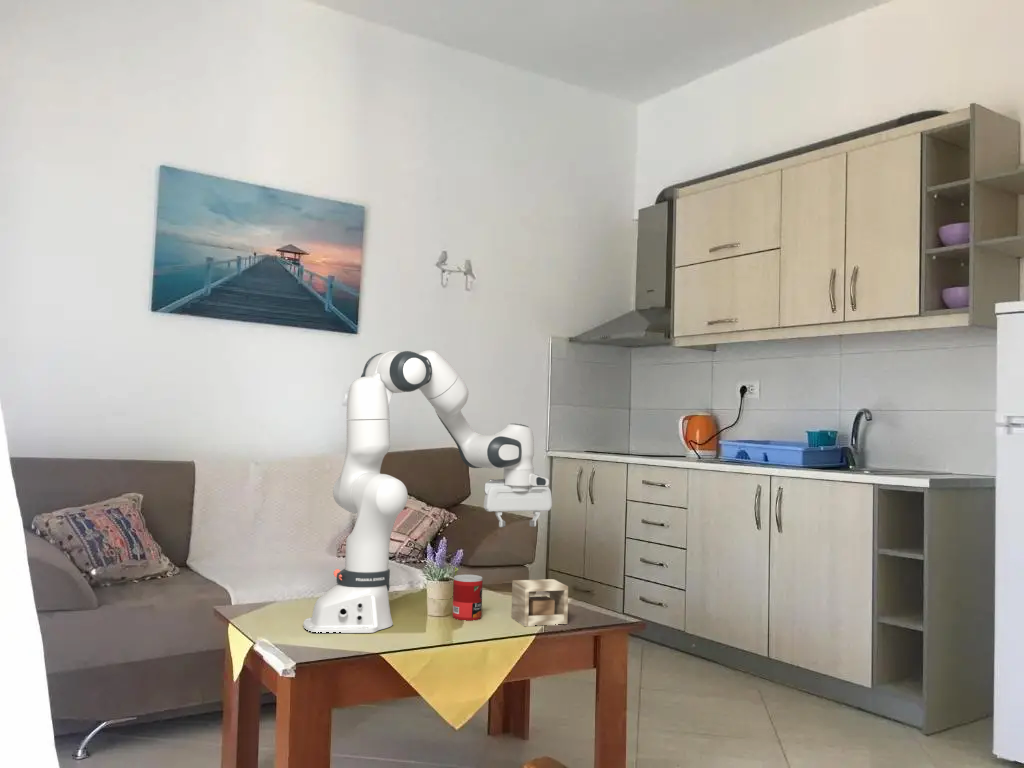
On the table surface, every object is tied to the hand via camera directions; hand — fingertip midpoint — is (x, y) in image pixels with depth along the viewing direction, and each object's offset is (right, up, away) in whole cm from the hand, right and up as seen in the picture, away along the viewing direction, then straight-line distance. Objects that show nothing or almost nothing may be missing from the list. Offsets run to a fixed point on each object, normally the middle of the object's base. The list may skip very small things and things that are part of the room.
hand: (517, 526), depth 250 cm
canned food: (-14, -22, -19) cm, 32 cm away
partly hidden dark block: (+4, -22, -14) cm, 27 cm away
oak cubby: (+6, -22, -20) cm, 30 cm away
